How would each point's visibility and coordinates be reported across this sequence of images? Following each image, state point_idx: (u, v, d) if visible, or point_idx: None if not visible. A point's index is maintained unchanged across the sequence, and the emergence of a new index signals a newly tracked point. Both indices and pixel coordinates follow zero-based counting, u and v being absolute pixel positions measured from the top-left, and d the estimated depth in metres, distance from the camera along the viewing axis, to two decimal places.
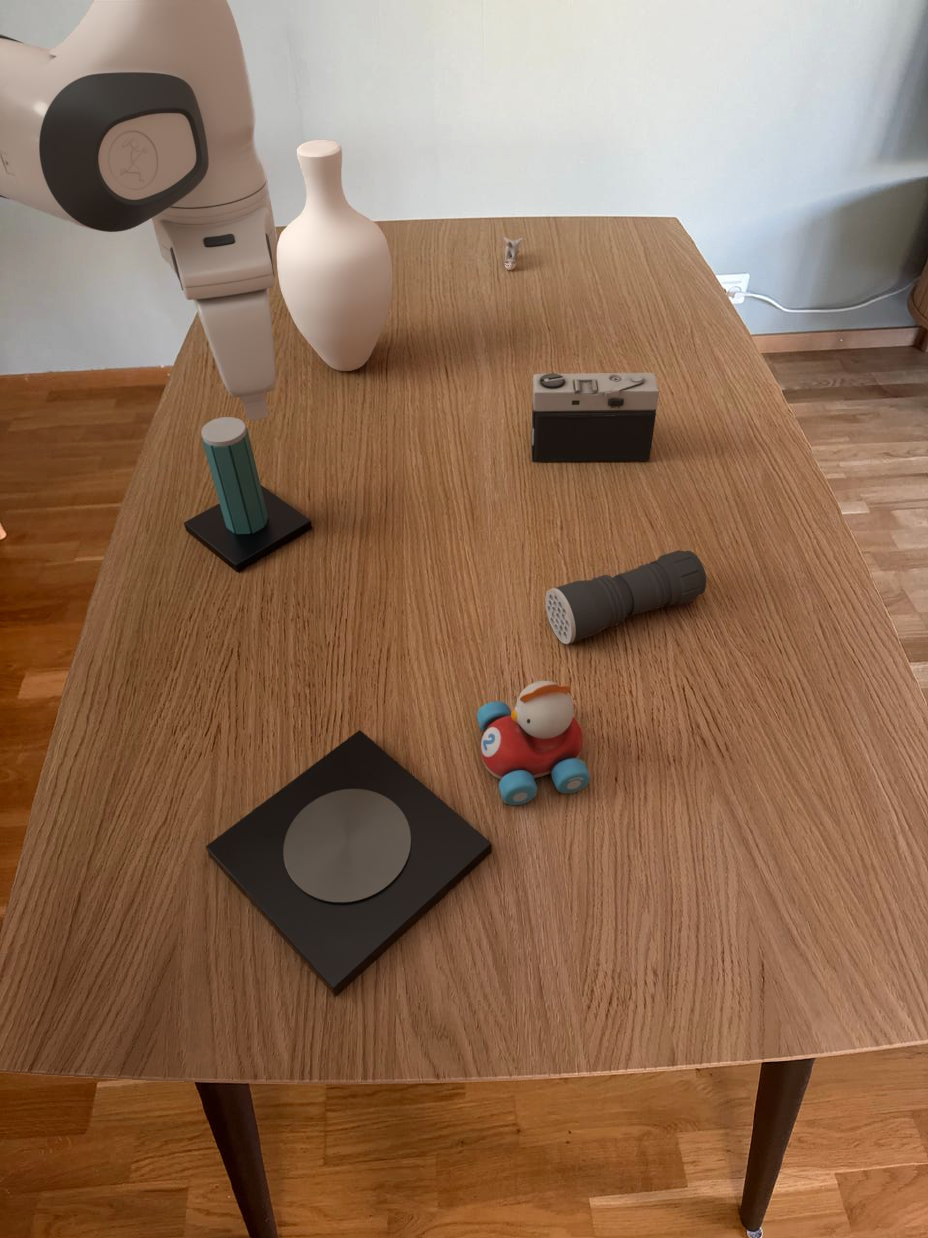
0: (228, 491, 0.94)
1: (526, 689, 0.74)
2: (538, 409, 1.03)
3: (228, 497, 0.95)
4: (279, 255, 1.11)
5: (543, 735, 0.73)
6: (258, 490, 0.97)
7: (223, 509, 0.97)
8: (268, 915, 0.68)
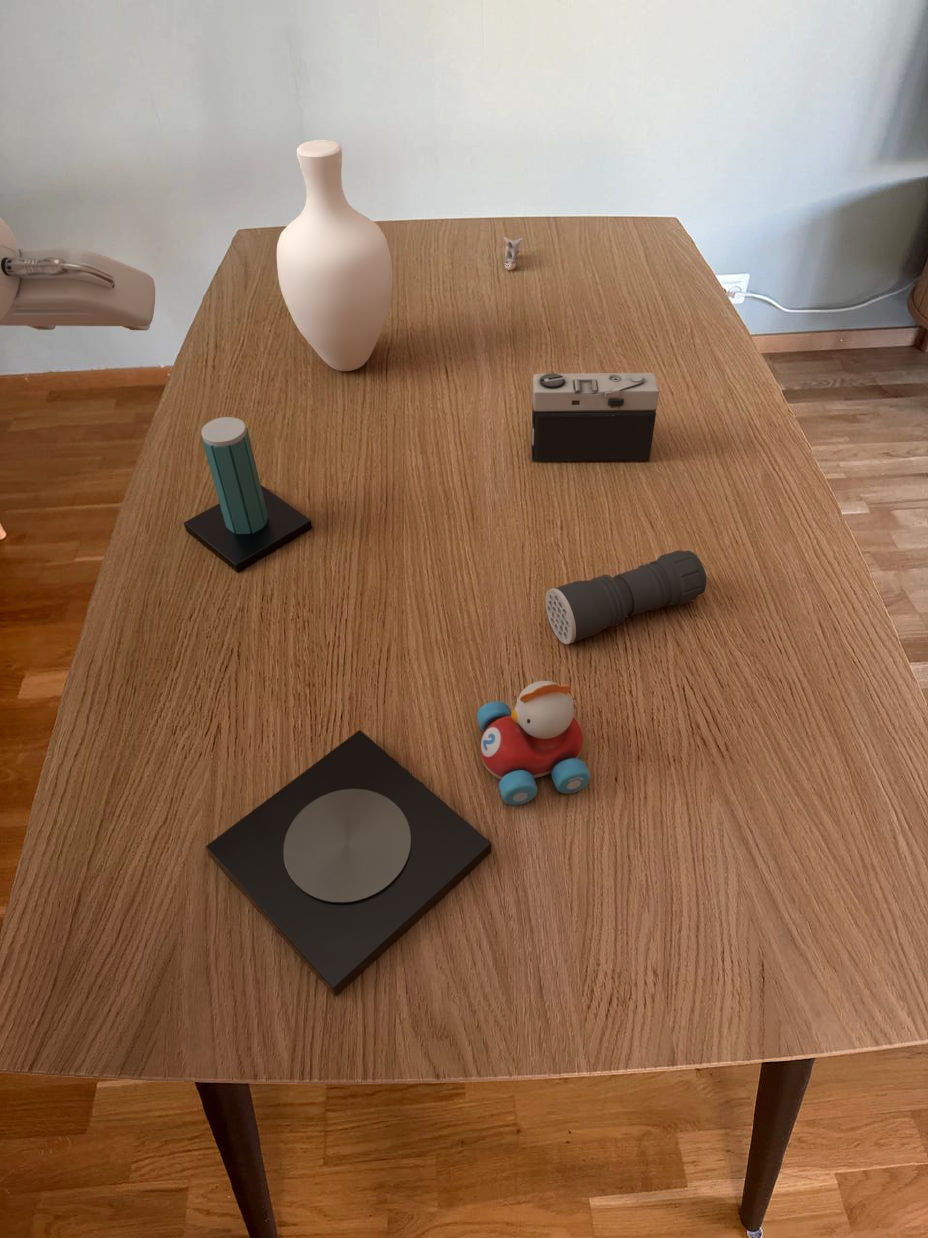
0: (228, 491, 0.94)
1: (526, 689, 0.74)
2: (538, 409, 1.03)
3: (228, 497, 0.95)
4: (279, 255, 1.11)
5: (543, 735, 0.73)
6: (258, 490, 0.97)
7: (223, 509, 0.97)
8: (268, 915, 0.68)
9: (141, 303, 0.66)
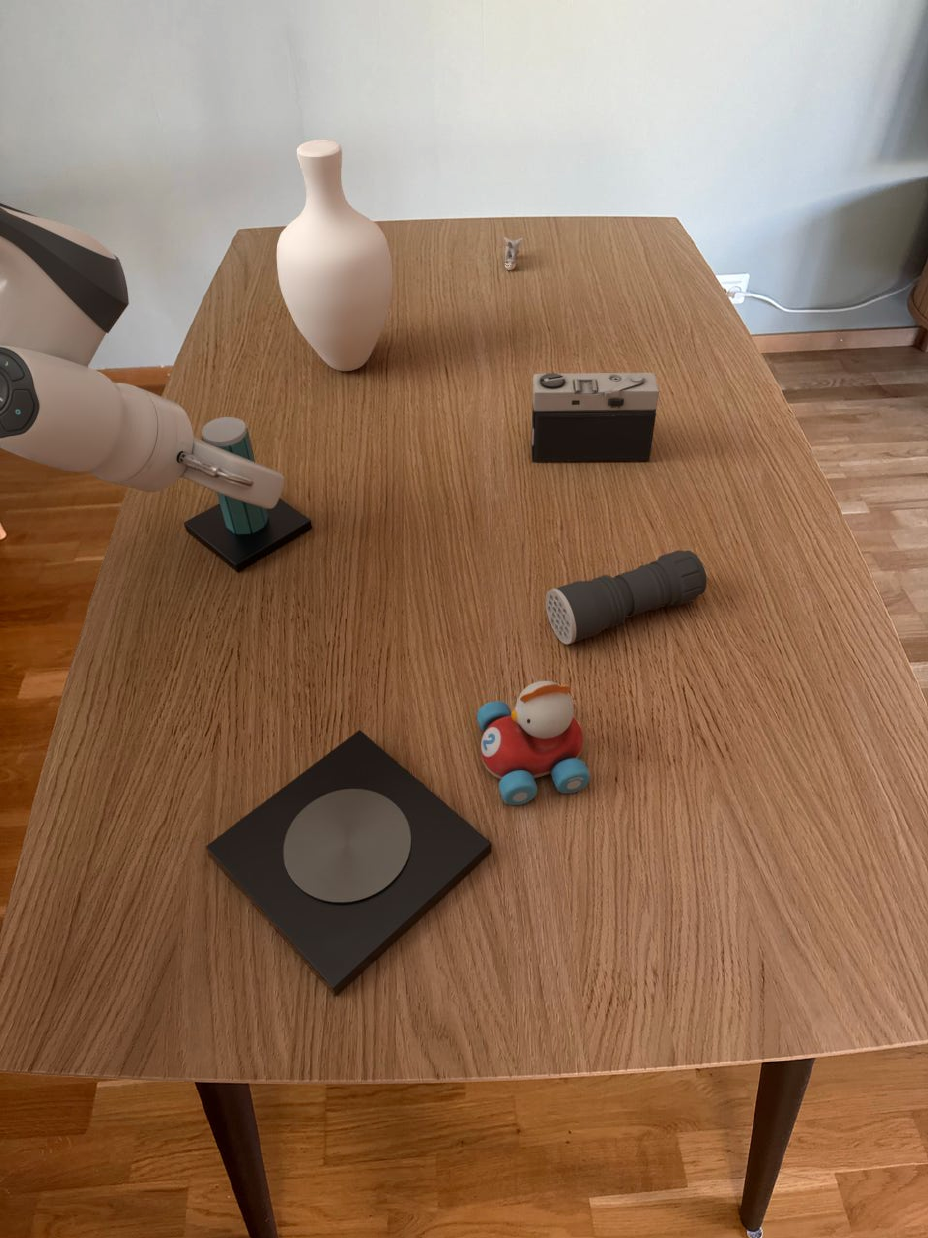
0: None
1: (526, 689, 0.74)
2: (538, 409, 1.03)
3: (228, 497, 0.95)
4: (279, 255, 1.11)
5: (543, 735, 0.73)
6: None
7: (223, 509, 0.97)
8: (268, 915, 0.68)
9: (269, 496, 0.86)
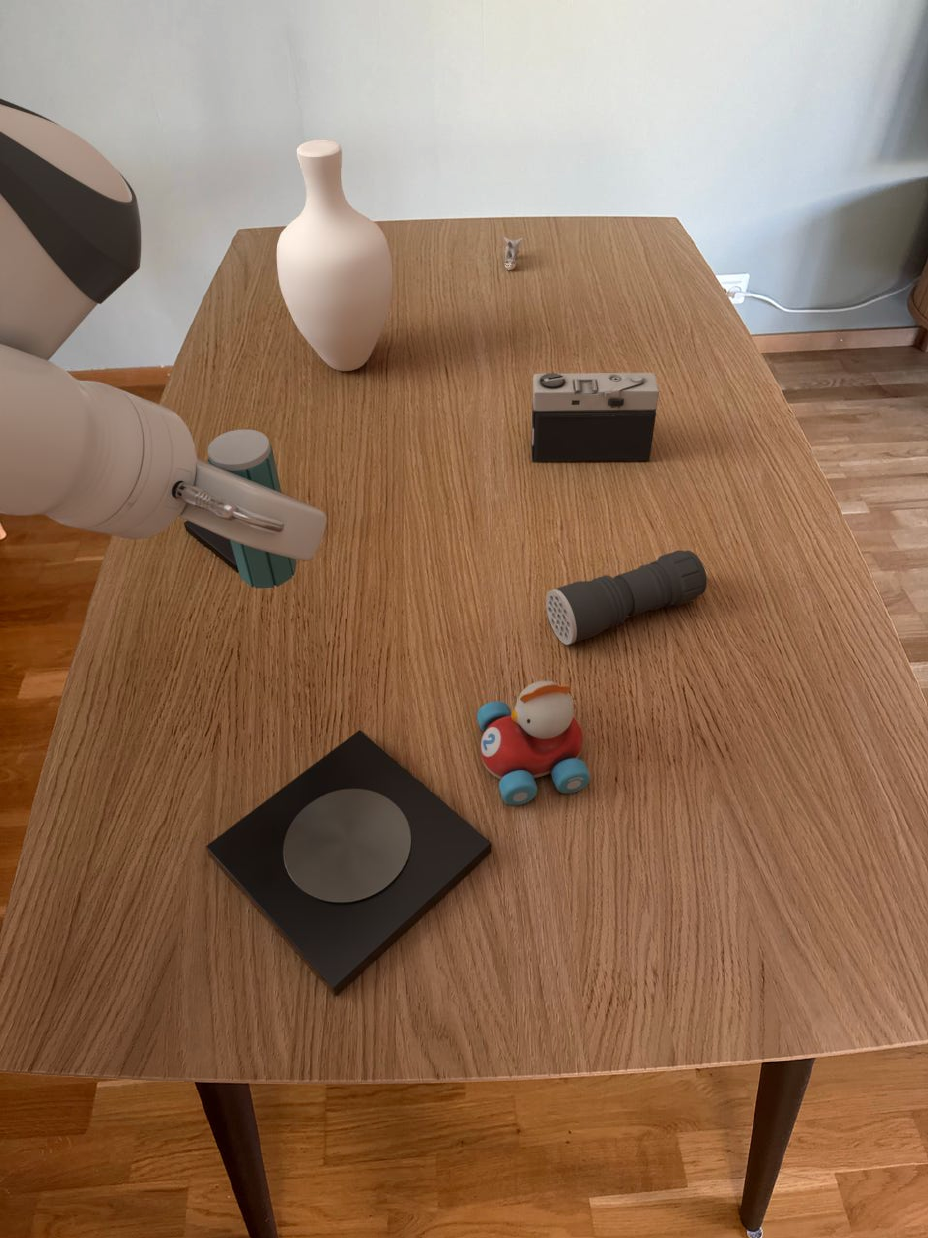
0: None
1: (526, 689, 0.74)
2: (538, 409, 1.03)
3: None
4: (279, 255, 1.11)
5: (543, 735, 0.73)
6: None
7: (237, 555, 0.71)
8: (268, 915, 0.68)
9: (306, 544, 0.60)
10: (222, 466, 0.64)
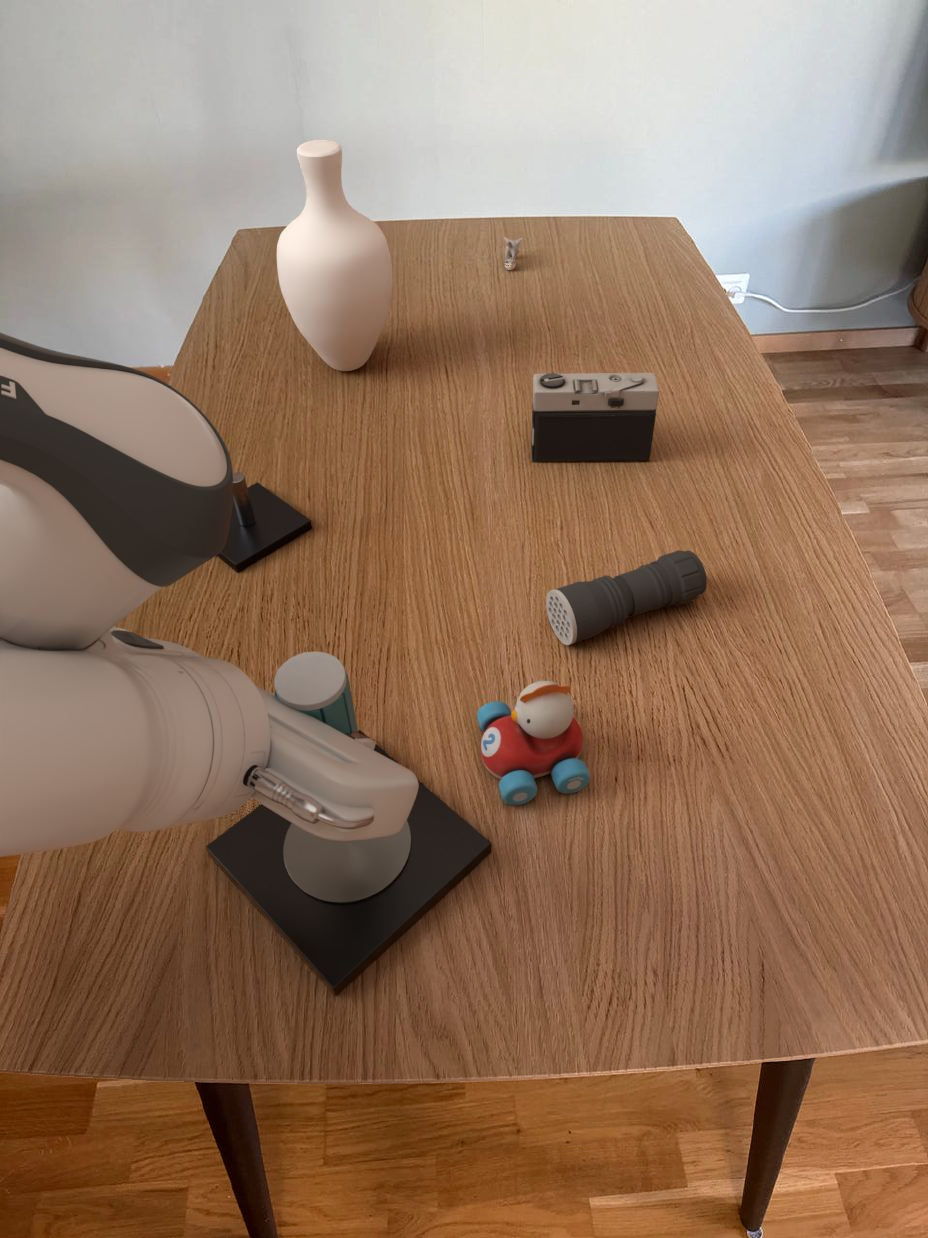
0: None
1: (526, 689, 0.74)
2: (538, 409, 1.03)
3: None
4: (279, 255, 1.11)
5: (543, 735, 0.73)
6: None
7: None
8: (268, 915, 0.68)
9: (395, 820, 0.51)
10: (292, 705, 0.55)
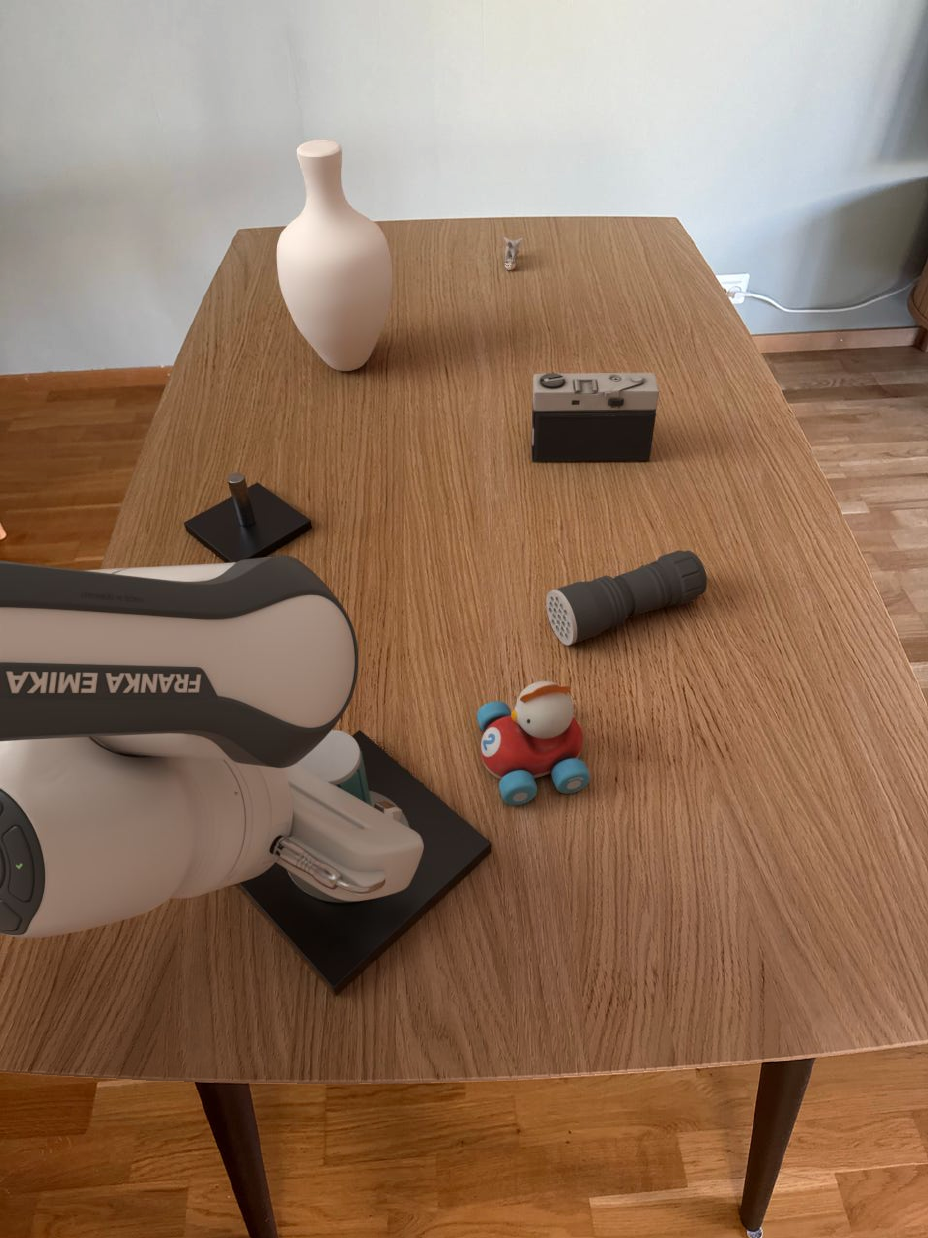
0: None
1: (526, 689, 0.74)
2: (538, 409, 1.03)
3: None
4: (279, 255, 1.11)
5: (543, 735, 0.73)
6: None
7: None
8: (268, 915, 0.68)
9: (403, 878, 0.57)
10: None
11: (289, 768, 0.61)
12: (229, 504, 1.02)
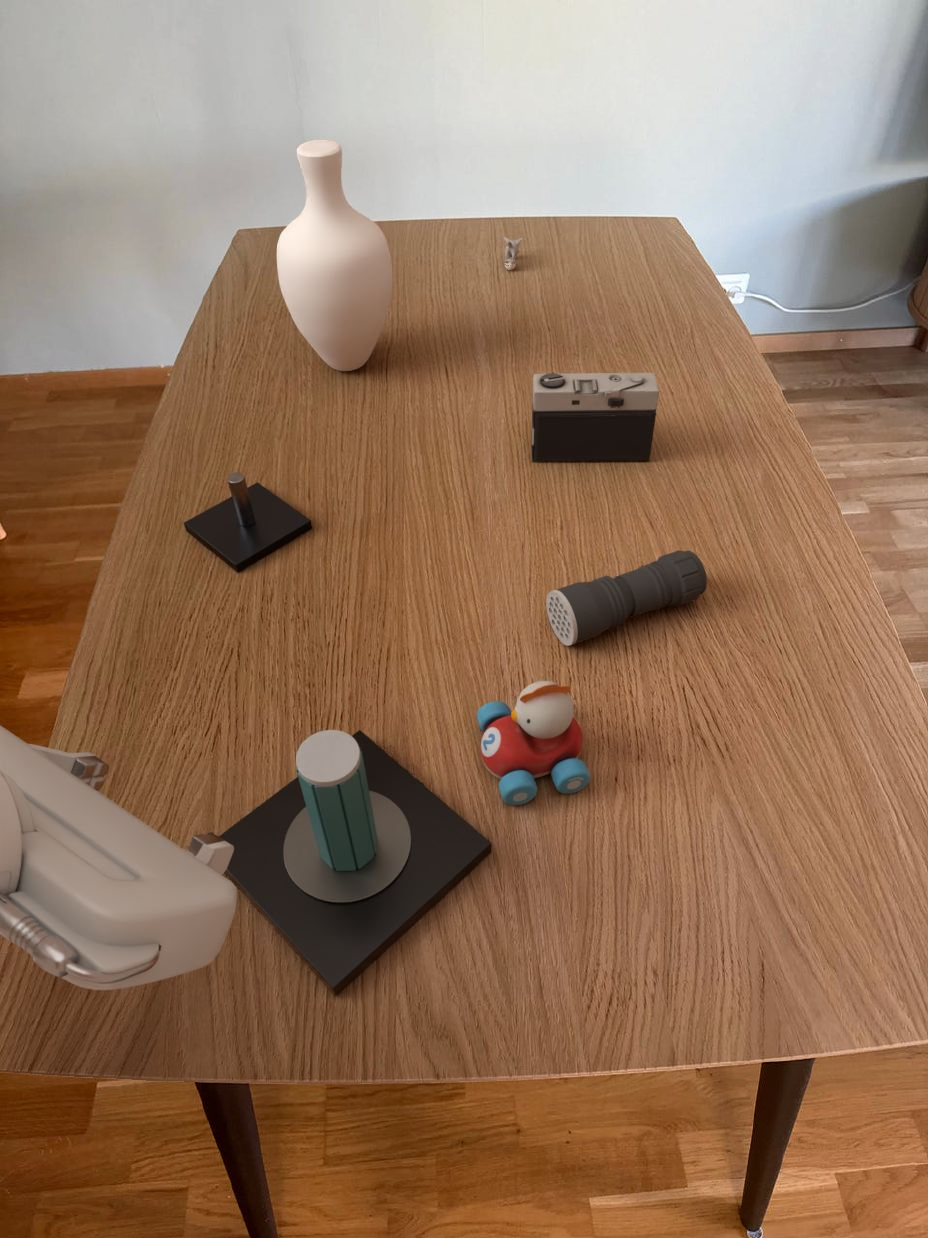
0: (330, 831, 0.65)
1: (526, 689, 0.74)
2: (538, 409, 1.03)
3: (329, 836, 0.66)
4: (279, 255, 1.11)
5: (543, 735, 0.73)
6: (370, 819, 0.68)
7: (319, 842, 0.68)
8: (268, 915, 0.68)
9: (202, 951, 0.39)
10: (312, 782, 0.61)
11: (60, 787, 0.43)
12: (229, 504, 1.02)
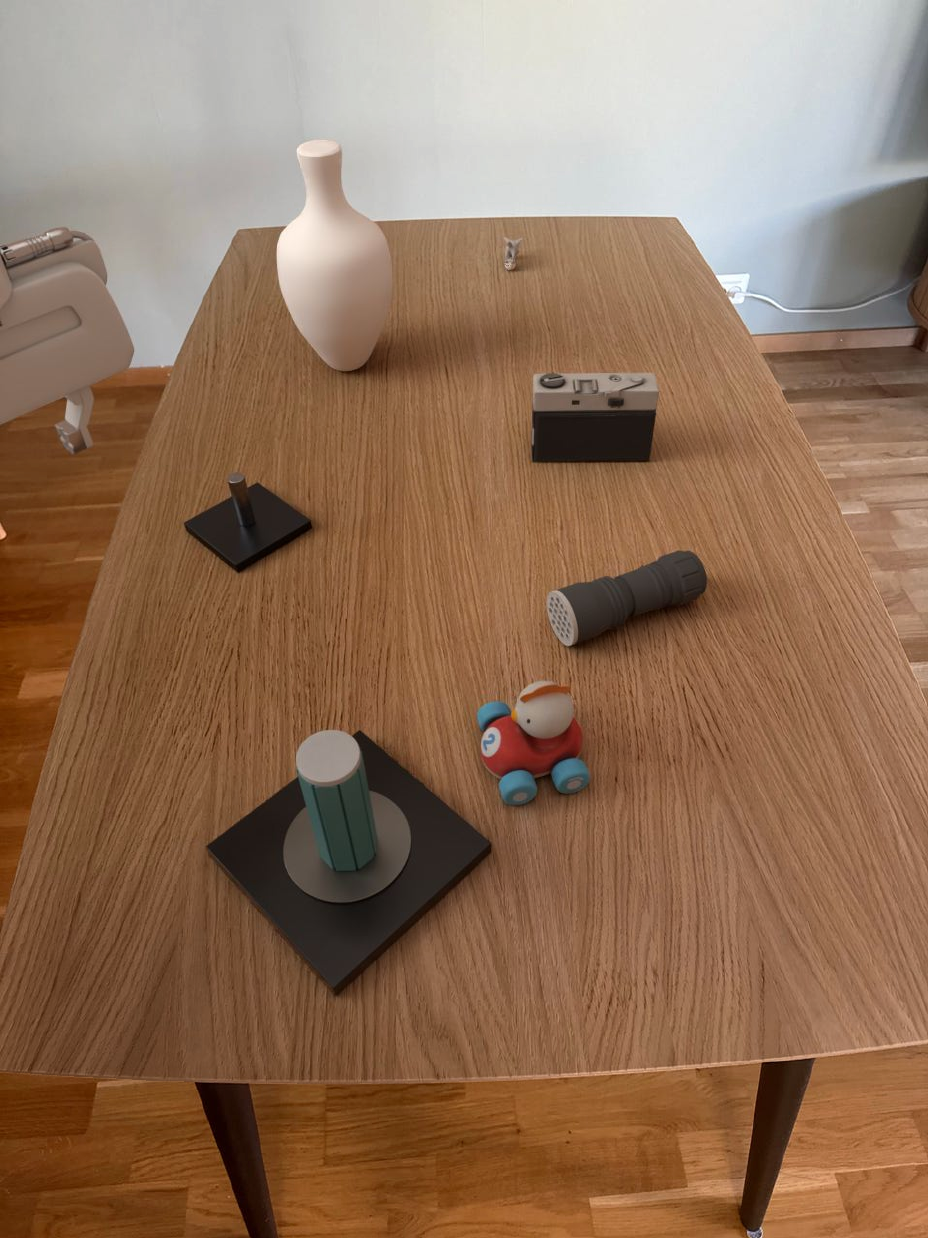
0: (330, 831, 0.65)
1: (526, 689, 0.74)
2: (538, 409, 1.03)
3: (329, 836, 0.66)
4: (279, 255, 1.11)
5: (543, 735, 0.73)
6: (370, 819, 0.68)
7: (319, 842, 0.68)
8: (268, 915, 0.68)
9: None
10: (312, 782, 0.61)
11: None
12: (229, 504, 1.02)
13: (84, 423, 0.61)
